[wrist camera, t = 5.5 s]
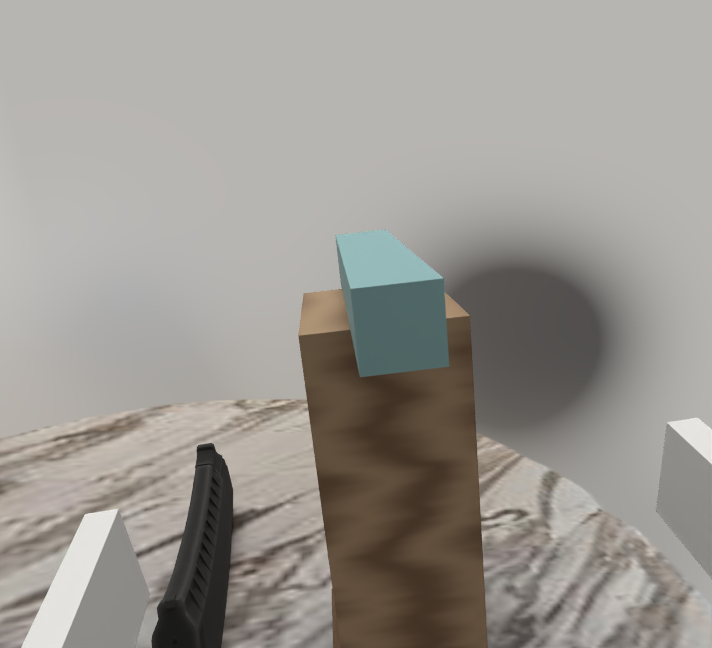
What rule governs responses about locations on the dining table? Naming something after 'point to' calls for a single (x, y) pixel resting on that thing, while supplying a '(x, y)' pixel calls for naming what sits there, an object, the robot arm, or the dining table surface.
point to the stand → (396, 487)
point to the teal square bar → (391, 305)
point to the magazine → (200, 562)
